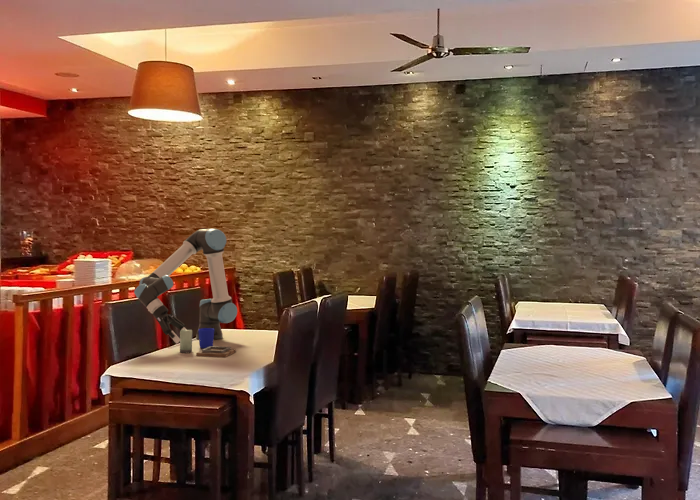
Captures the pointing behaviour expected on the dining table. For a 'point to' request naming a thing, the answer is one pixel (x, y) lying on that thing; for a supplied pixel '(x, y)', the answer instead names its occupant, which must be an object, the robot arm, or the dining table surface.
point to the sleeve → (185, 341)
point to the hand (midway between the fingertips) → (184, 340)
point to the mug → (206, 337)
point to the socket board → (216, 351)
